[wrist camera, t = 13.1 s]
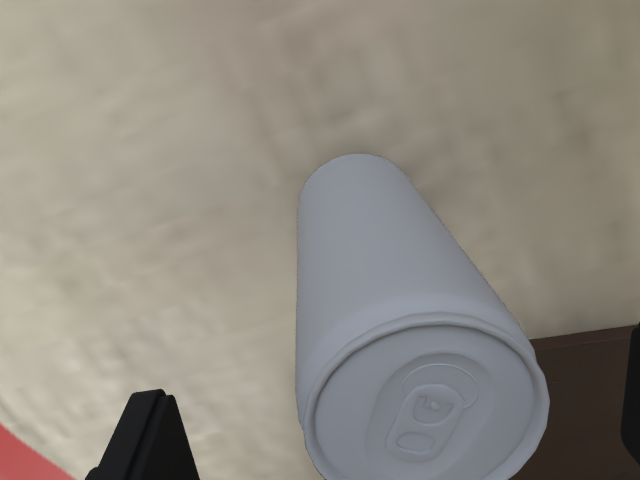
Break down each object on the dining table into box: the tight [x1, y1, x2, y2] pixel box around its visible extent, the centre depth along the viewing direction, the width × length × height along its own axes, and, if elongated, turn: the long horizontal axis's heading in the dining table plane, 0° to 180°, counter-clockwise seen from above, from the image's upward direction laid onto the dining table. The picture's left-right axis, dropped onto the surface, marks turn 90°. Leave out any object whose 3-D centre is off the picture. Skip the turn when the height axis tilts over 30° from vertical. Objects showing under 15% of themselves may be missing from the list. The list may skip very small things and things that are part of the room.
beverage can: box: [296, 153, 550, 480], centre depth 15 cm, size 5×5×12 cm
